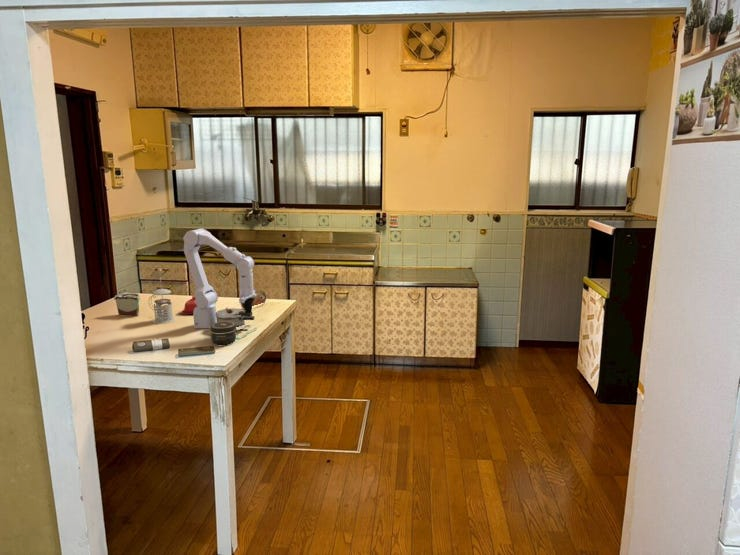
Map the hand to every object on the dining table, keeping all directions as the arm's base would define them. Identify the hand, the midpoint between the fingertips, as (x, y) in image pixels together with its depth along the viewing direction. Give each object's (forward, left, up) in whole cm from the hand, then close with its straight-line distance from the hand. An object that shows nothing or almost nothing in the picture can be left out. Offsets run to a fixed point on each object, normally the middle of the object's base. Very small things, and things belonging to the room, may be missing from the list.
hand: (248, 314), depth 227 cm
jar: (-7, -17, -7) cm, 20 cm away
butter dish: (-32, +26, -7) cm, 42 cm away
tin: (-5, +34, -7) cm, 35 cm away
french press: (-43, +12, -7) cm, 46 cm away
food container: (-62, +22, -7) cm, 66 cm away
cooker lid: (-6, 0, 0) cm, 6 cm away
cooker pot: (-6, +1, -7) cm, 9 cm away
